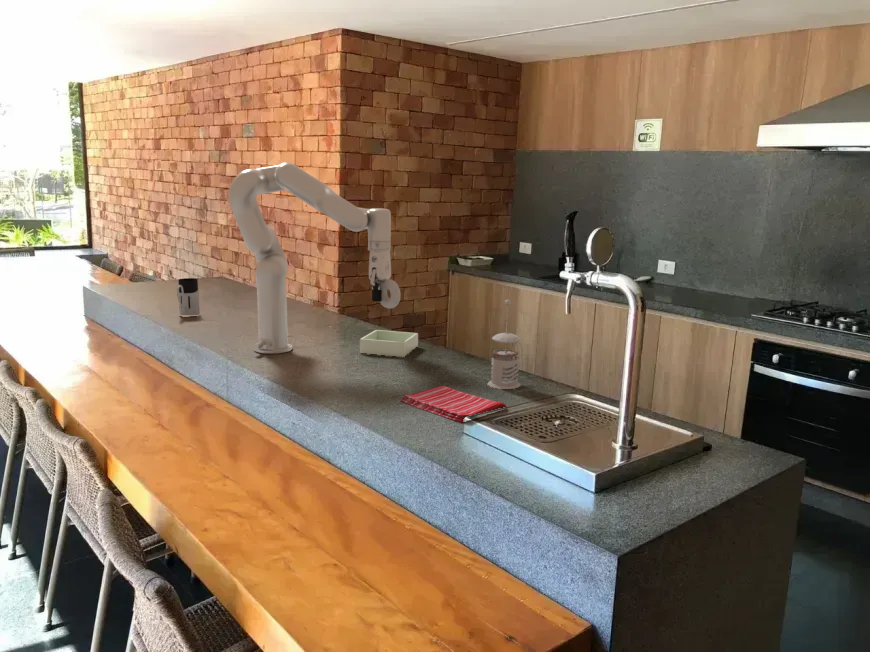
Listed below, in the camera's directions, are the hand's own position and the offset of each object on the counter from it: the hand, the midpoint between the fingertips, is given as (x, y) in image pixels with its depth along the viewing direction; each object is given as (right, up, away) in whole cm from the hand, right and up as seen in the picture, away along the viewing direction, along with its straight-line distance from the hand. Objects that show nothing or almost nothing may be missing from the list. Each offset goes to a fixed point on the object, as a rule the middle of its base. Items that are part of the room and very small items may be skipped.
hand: (379, 299), depth 240 cm
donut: (+3, -3, -2) cm, 5 cm away
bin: (+3, -17, +3) cm, 18 cm away
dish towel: (+24, -30, -55) cm, 67 cm away
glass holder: (-83, -5, +52) cm, 98 cm away
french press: (+40, -26, -34) cm, 59 cm away
